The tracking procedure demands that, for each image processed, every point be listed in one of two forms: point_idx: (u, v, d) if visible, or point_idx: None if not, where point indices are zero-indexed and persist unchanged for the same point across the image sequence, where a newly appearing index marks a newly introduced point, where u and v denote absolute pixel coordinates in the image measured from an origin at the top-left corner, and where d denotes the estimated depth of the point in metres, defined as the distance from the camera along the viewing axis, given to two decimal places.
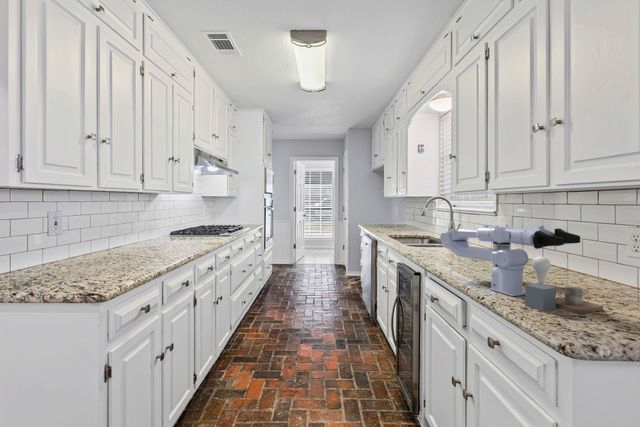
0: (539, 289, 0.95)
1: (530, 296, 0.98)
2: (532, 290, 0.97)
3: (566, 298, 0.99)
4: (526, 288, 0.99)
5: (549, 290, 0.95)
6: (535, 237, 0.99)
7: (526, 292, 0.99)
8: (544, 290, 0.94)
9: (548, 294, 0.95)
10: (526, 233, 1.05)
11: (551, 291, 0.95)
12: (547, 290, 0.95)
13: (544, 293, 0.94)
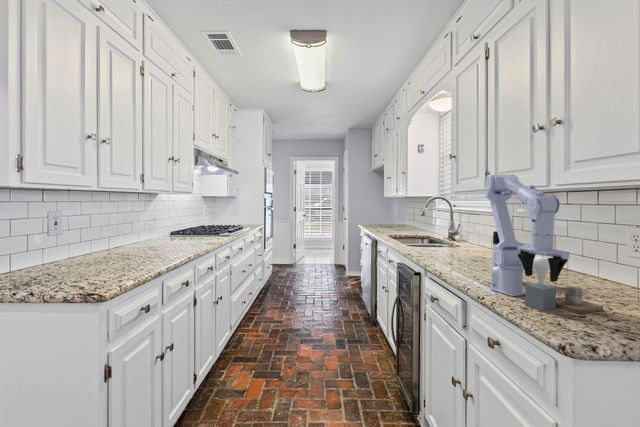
0: (539, 289, 0.95)
1: (530, 296, 0.98)
2: (532, 290, 0.97)
3: (566, 298, 0.99)
4: (526, 288, 0.99)
5: (549, 290, 0.95)
6: None
7: (526, 292, 0.99)
8: (544, 290, 0.94)
9: (548, 294, 0.95)
10: None
11: (551, 291, 0.95)
12: (547, 290, 0.95)
13: (544, 293, 0.94)
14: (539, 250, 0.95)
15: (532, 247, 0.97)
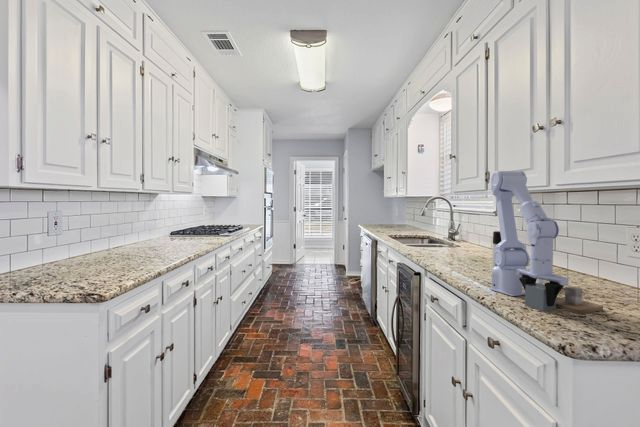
0: (539, 289, 0.95)
1: (530, 296, 0.98)
2: (532, 290, 0.97)
3: (566, 298, 0.99)
4: (526, 288, 0.99)
5: None
6: None
7: (526, 292, 0.99)
8: (544, 290, 0.94)
9: None
10: (530, 262, 0.99)
11: None
12: None
13: (544, 293, 0.94)
14: (538, 275, 0.95)
15: (531, 271, 0.98)
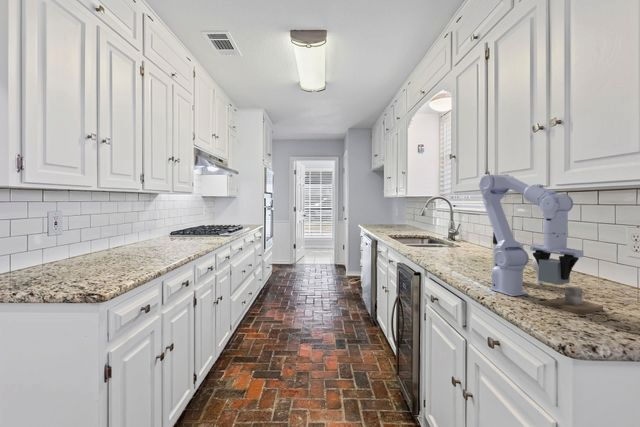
0: (553, 263, 0.95)
1: (544, 270, 0.98)
2: (546, 264, 0.97)
3: (566, 298, 0.99)
4: (540, 263, 0.99)
5: None
6: None
7: (540, 267, 0.99)
8: (558, 263, 0.94)
9: None
10: (544, 237, 0.99)
11: None
12: None
13: (558, 266, 0.94)
14: (552, 249, 0.95)
15: (545, 246, 0.97)
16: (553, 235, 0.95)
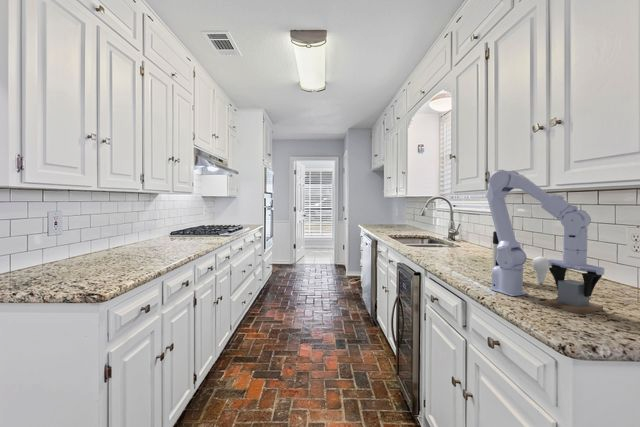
0: (573, 285, 0.96)
1: (563, 292, 0.98)
2: (565, 286, 0.98)
3: None
4: (559, 284, 0.99)
5: (583, 286, 0.95)
6: None
7: (559, 288, 0.99)
8: (578, 286, 0.95)
9: (582, 290, 0.95)
10: (563, 253, 0.99)
11: None
12: (581, 286, 0.95)
13: (578, 289, 0.95)
14: (573, 265, 0.96)
15: (565, 262, 0.98)
16: (573, 251, 0.96)
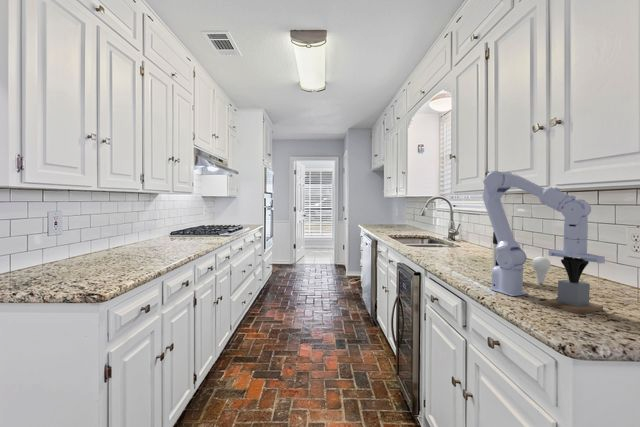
0: (573, 285, 0.96)
1: (563, 292, 0.98)
2: (565, 286, 0.98)
3: None
4: (559, 284, 0.99)
5: (583, 286, 0.95)
6: None
7: (559, 288, 0.99)
8: (578, 286, 0.95)
9: (582, 290, 0.95)
10: None
11: (585, 287, 0.96)
12: (581, 286, 0.95)
13: (578, 289, 0.95)
14: (573, 254, 0.96)
15: (565, 251, 0.98)
16: (574, 241, 0.96)
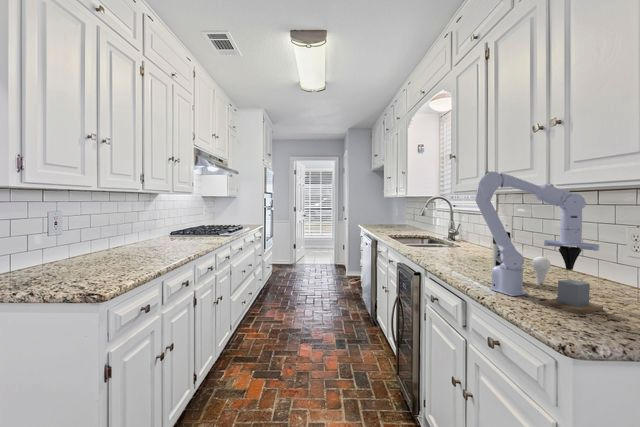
0: (573, 285, 0.96)
1: (563, 292, 0.98)
2: (565, 286, 0.98)
3: None
4: (559, 284, 0.99)
5: (583, 286, 0.95)
6: None
7: (559, 288, 0.99)
8: (578, 286, 0.95)
9: (582, 290, 0.95)
10: (560, 233, 1.07)
11: (585, 287, 0.96)
12: (581, 286, 0.95)
13: (578, 289, 0.95)
14: (572, 243, 1.04)
15: (563, 241, 1.05)
16: (572, 231, 1.04)
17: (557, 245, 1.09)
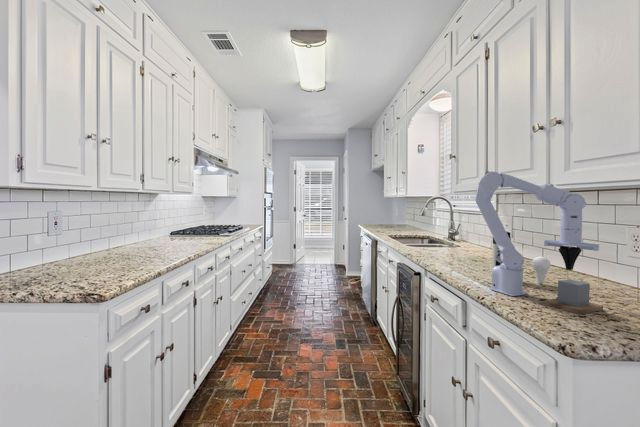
0: (573, 285, 0.96)
1: (563, 292, 0.98)
2: (565, 286, 0.98)
3: None
4: (559, 284, 0.99)
5: (583, 286, 0.95)
6: None
7: (559, 288, 0.99)
8: (578, 286, 0.95)
9: (582, 290, 0.95)
10: (560, 233, 1.07)
11: (585, 287, 0.96)
12: (581, 286, 0.95)
13: (578, 289, 0.95)
14: (572, 243, 1.04)
15: (563, 241, 1.05)
16: (572, 231, 1.04)
17: (557, 245, 1.09)
